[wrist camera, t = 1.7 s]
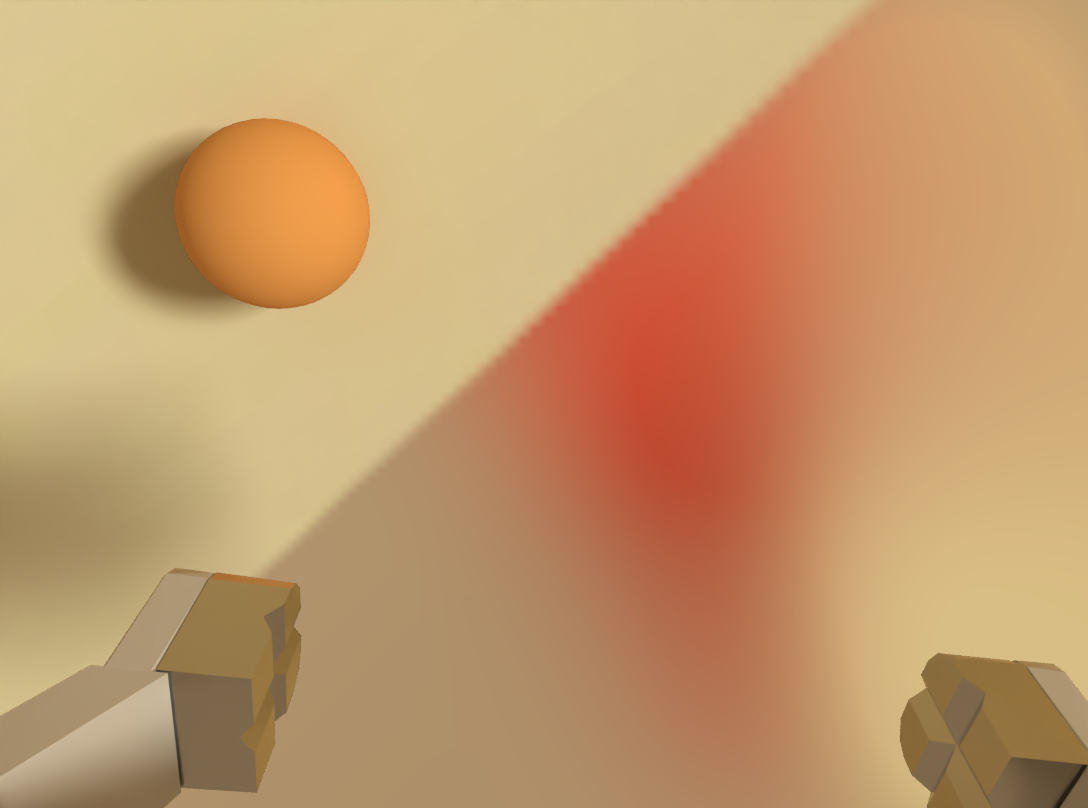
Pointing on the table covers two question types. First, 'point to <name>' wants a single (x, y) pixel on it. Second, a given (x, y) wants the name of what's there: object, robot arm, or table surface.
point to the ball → (272, 213)
